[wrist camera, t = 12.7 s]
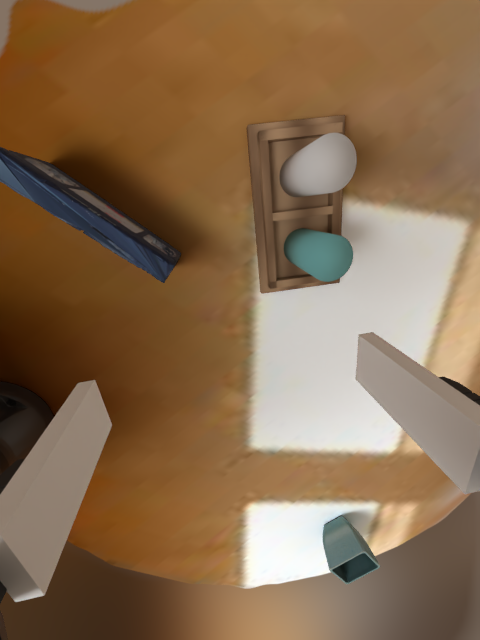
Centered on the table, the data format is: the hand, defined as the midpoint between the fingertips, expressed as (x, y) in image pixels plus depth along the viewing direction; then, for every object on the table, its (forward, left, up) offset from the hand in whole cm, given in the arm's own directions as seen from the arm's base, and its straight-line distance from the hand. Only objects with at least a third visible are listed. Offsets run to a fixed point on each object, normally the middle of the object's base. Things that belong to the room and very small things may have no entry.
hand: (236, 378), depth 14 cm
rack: (+12, +6, -28) cm, 31 cm away
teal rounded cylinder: (+12, +2, -27) cm, 29 cm away
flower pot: (+20, -66, -28) cm, 74 cm away
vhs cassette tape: (-12, +8, -28) cm, 32 cm away
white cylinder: (+12, +11, -27) cm, 31 cm away
